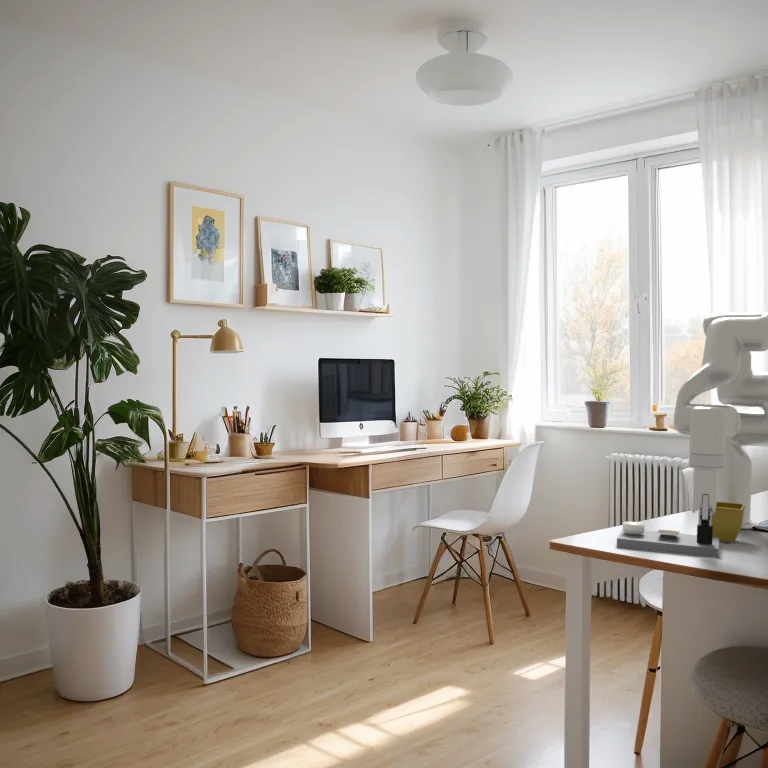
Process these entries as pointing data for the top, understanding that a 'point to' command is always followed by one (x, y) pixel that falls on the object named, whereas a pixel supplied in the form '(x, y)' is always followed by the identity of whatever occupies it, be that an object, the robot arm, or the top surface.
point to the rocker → (668, 531)
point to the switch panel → (668, 543)
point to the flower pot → (727, 521)
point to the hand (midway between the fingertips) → (704, 543)
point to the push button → (633, 527)
